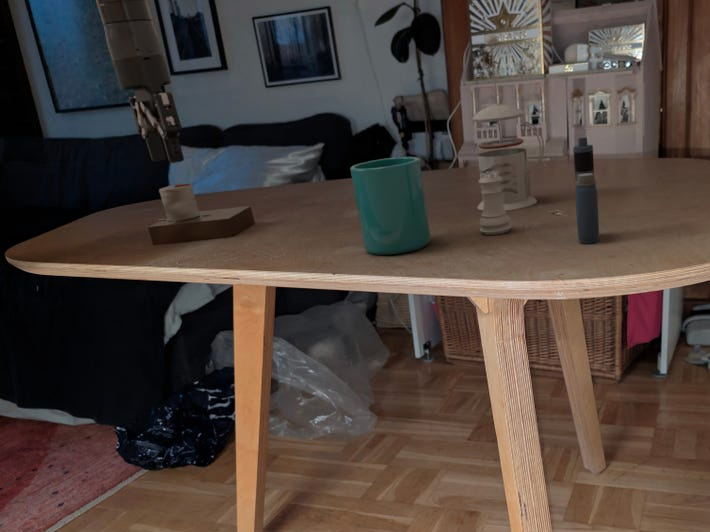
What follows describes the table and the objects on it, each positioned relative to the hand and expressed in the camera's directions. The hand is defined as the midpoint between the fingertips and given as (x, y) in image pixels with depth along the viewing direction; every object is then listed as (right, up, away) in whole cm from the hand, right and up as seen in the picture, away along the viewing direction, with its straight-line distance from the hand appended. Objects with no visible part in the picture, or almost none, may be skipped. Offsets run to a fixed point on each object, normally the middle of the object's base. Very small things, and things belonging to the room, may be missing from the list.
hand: (168, 161), depth 116 cm
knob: (+1, -9, +4) cm, 9 cm away
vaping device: (+65, -18, -28) cm, 73 cm away
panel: (+4, -11, +5) cm, 13 cm away
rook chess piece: (+54, -15, -18) cm, 59 cm away
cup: (+41, -17, -19) cm, 48 cm away
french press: (+57, -8, -2) cm, 57 cm away
